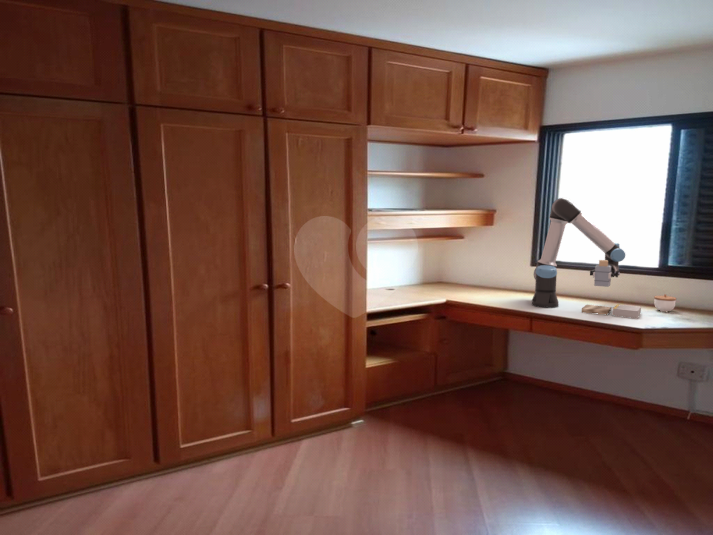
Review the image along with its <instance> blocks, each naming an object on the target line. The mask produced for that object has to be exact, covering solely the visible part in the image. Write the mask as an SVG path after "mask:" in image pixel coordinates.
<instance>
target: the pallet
mask: <svg viewBox="0 0 713 535" xmlns="http://www.w3.org/2000/svg"><path fill="white" fill-rule="evenodd" d="M610 311H611V312H612V306H605V305H604V306H603V305H594V304H586V305H584V306H582V308H581V313H583V312H586V314H592V313H598V314H597V315H601V314H606V315H605V316H608V315H609V314H610V313H611V312H610ZM608 313H609V314H608ZM607 314H608V315H607Z"/></svg>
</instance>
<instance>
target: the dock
mask: <svg viewBox="0 0 713 535" xmlns="http://www.w3.org/2000/svg"><path fill="white" fill-rule="evenodd" d="M641 309H642V307H641V306H639V305H638V306H637V305H627V304H618V303H616V304H615V305H614V307H612V311H611V312H612V315H615V316H614V317H619V316H623V317H622V318H628V317H631V318H630V319H638V318H639V317H640V315H641V314H640V313H641V312H642V310H641ZM638 316H639V317H638Z"/></svg>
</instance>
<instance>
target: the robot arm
mask: <svg viewBox="0 0 713 535" xmlns="http://www.w3.org/2000/svg"><path fill="white" fill-rule="evenodd" d="M550 208H551V210H550V214H549V218H548V219H549V220H550V223H549V224H550V225H549V227H548V231H547V235H546V238H545V241H544V242H545V243H544V246H543V250H542V254H541V258H540V259H539V260H537V262H536V267H535V269H534V270H533V278H534V281H535V286H534V287H535V288H534V294H533V297H532V299H531V305H532V306H533V305H534V307H537V306H539V307H538V308H548V307H551V308H558V307H559V299H558V297H557V275H558V270H557V267H558V265H557V263H556V262H557V261H556V260H557V257H558V254H559V250H560V246H561V243H562V239H563V235H564V232H565V228H566V225H567V224H572V225H573V226H574V227H575V228H576V229H577V230H578V231H580V232H581V233H582V234H583V235H584V236H585V237H586V238H588V240H590V242H592V243H593V244H594V245H595V246H596V247H597V248H598V249H600V250H601V251H602V252H603V253H604V260H608V265H610V266H611V272H610V273H609V274H608V279H610V278H614V277H615V278H618V277H619V276H620V275H621V273H620V265H619V262H622V261H624V260H625V258H626V252H625V251H624V249H622V248H621V247H620V243H619V242H618V243H617V242H613V240H612V239H610V238H609V237H608V236H607V235H606V234H605V233H604V232H603V231H601V229H599V227H597V226H596V225H595V224H594V222H593V223H592V222H591V221H590V220H589V219H588V218H587V217H586V215H584V214H583V211H582V210H581V209H580V208H579V207H578V206H577V204H576V203H574V201H573V200H571V199H570V198H568V197H559V198H557V199H555V200H554V201H553V203H552V204H551V206H550ZM589 276H592V278H594V279H595V268H594V269H592V270H590V271H589Z"/></svg>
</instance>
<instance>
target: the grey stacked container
mask: <svg viewBox="0 0 713 535" xmlns="http://www.w3.org/2000/svg"><path fill="white" fill-rule="evenodd" d="M594 269H595V278H594V284H593V285H594V286H595V287H604V288H605V287H606V288H608V287H611V280H612V279H611V278H612V277H611V278H610V279H608V274H609V273H610V272H611V266H610V265H608V266H599V264H596V265H595V267H594Z"/></svg>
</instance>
